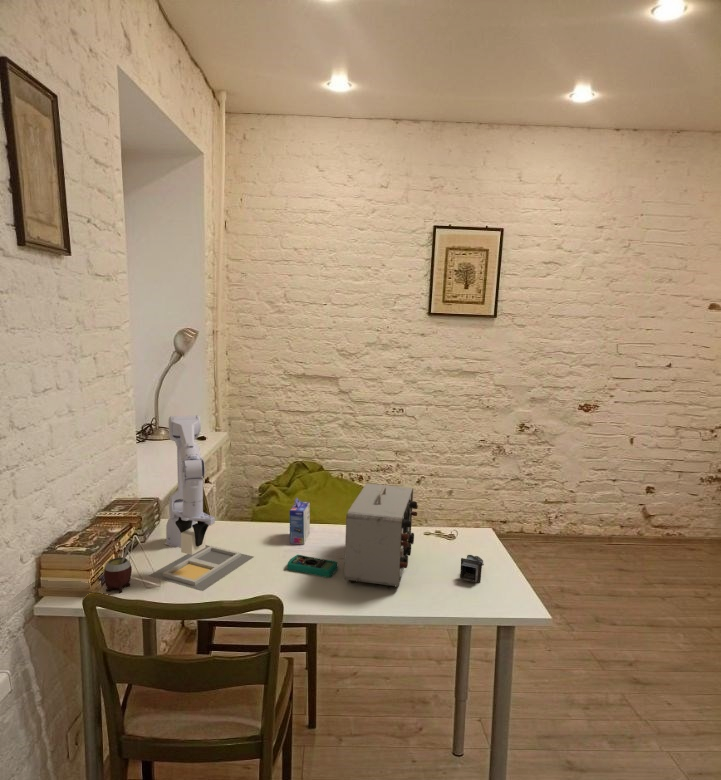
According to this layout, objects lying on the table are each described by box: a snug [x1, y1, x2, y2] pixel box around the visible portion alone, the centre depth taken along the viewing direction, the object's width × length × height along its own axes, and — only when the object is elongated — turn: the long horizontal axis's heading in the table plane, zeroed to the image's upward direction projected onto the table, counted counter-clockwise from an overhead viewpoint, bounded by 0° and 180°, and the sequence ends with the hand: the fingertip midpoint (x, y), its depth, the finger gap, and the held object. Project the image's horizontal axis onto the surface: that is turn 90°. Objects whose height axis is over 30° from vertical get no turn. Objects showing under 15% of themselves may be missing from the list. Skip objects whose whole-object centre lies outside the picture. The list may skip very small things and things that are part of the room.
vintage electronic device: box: [343, 483, 418, 589], centre depth 169 cm, size 32×18×25 cm, turn 168°
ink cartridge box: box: [289, 497, 311, 545], centre depth 188 cm, size 10×6×14 cm, turn 174°
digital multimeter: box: [286, 554, 338, 578], centre depth 166 cm, size 7×15×3 cm, turn 72°
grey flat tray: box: [148, 544, 254, 592], centre depth 164 cm, size 20×25×2 cm
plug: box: [180, 527, 206, 555], centre depth 159 cm, size 4×7×6 cm, turn 157°
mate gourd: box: [103, 538, 138, 594], centre depth 149 cm, size 8×8×15 cm
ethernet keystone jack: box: [459, 554, 485, 584], centre depth 166 cm, size 6×13×6 cm, turn 157°
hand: (192, 543), depth 159 cm, fingers closed on plug, 4 cm apart
